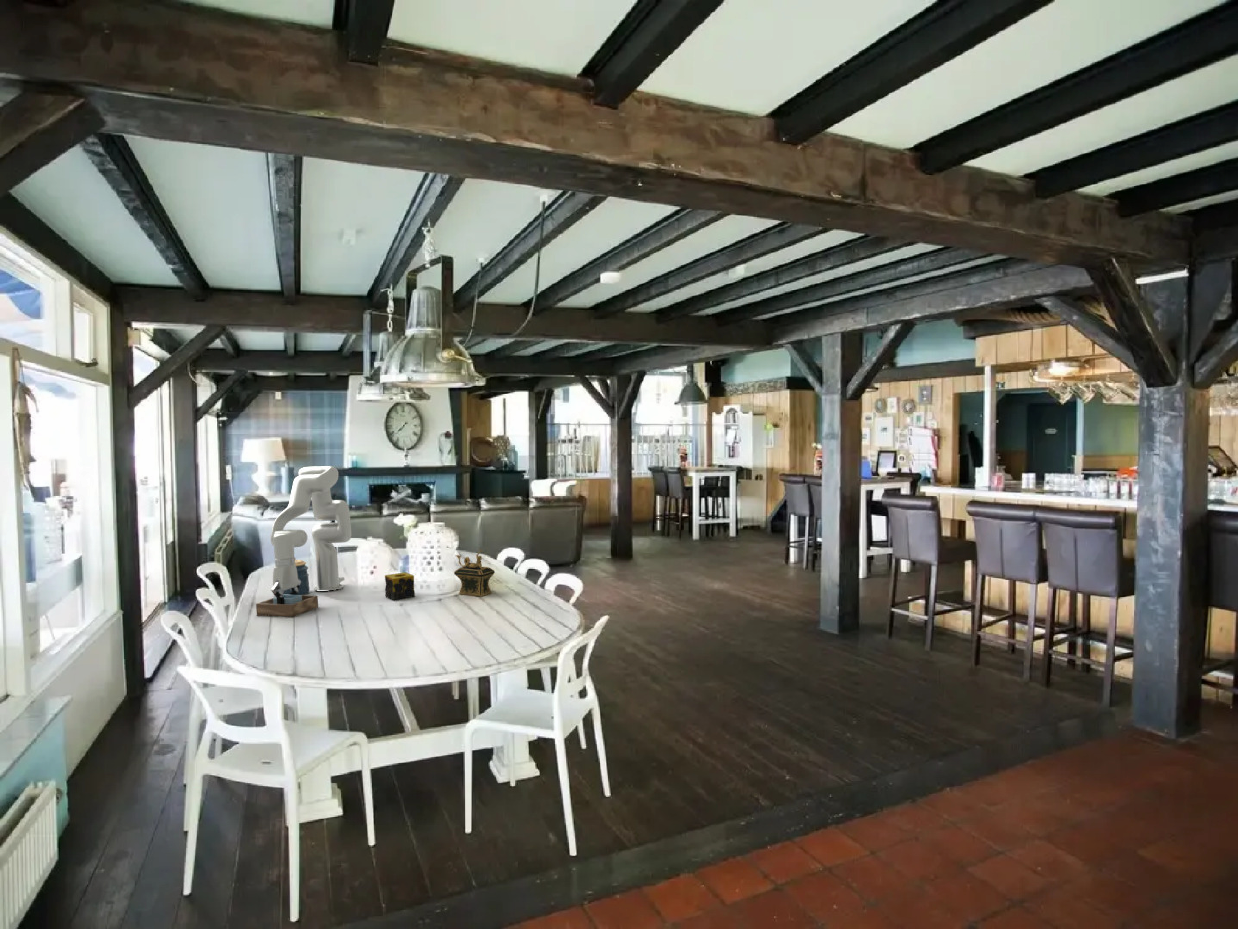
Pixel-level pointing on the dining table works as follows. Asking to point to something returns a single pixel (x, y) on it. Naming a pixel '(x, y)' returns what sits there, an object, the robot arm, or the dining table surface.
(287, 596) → the blue crate
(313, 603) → the walnut crate
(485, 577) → the decorative box
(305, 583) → the canister
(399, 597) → the black gold cube box
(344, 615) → the dining table surface
